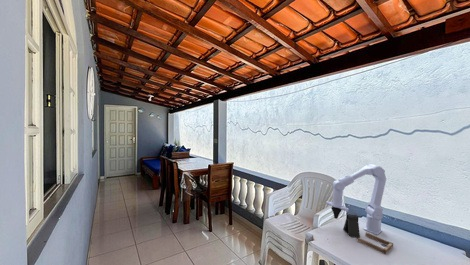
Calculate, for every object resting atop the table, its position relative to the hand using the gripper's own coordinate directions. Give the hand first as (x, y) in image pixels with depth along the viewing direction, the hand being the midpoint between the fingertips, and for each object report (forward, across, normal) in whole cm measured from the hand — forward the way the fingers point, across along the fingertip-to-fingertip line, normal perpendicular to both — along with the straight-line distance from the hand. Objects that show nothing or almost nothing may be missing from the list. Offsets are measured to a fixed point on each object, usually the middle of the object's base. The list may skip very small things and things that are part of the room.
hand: (336, 218), depth 132 cm
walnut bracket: (+6, +23, 0) cm, 24 cm away
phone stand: (+6, +10, 0) cm, 12 cm away
